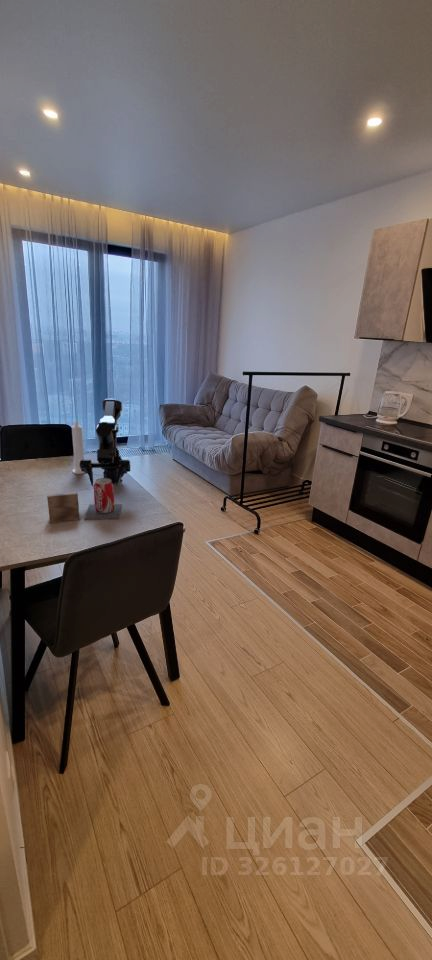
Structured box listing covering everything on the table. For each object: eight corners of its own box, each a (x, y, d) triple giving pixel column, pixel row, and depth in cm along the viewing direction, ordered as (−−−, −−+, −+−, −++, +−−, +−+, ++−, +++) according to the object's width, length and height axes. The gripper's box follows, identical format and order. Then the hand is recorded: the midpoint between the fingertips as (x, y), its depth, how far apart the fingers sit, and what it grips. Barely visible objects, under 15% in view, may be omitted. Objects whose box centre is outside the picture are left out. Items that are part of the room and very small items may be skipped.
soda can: (115, 513, 145) (114, 483, 141) (95, 515, 143) (93, 484, 138) (113, 506, 151) (112, 476, 147) (94, 507, 149) (92, 478, 145)
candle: (91, 470, 189) (87, 419, 180) (80, 475, 183) (76, 422, 174) (79, 468, 191) (76, 417, 183) (69, 472, 185) (64, 420, 177)
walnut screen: (79, 514, 144) (77, 492, 141) (79, 519, 140) (78, 496, 137) (49, 518, 140) (47, 495, 137) (49, 523, 136) (47, 499, 133)
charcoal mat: (89, 505, 151) (89, 504, 151) (121, 505, 153) (121, 504, 153) (84, 519, 140) (84, 518, 140) (118, 519, 142) (118, 517, 142)
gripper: (78, 439, 147) (75, 477, 141) (129, 439, 150) (128, 477, 144) (83, 453, 157) (80, 489, 151) (130, 453, 160) (130, 488, 154)
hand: (104, 485), depth 149 cm, fingers open, 9 cm apart
